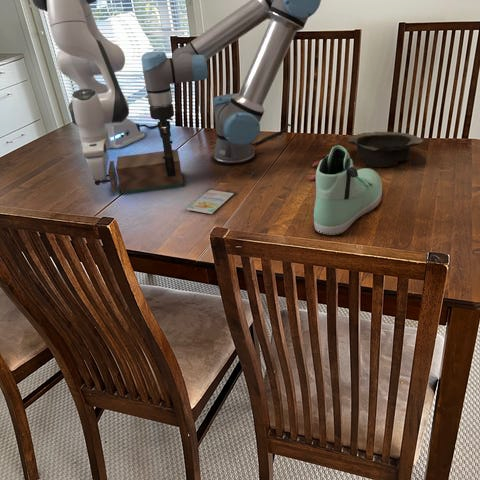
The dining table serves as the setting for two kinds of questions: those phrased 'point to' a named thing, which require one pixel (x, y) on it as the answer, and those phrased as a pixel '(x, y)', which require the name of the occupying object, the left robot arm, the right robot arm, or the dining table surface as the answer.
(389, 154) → the stone bowl
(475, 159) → the dining table surface
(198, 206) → the baking ingredient package
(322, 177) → the sneaker
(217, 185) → the dining table surface
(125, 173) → the cabinet
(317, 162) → the candy cane
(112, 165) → the drawer
